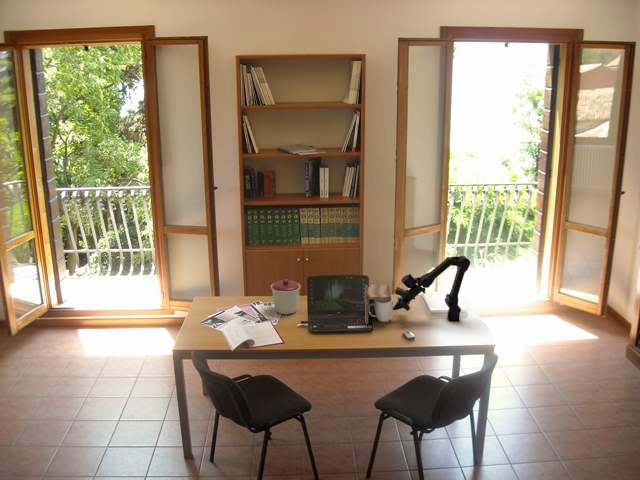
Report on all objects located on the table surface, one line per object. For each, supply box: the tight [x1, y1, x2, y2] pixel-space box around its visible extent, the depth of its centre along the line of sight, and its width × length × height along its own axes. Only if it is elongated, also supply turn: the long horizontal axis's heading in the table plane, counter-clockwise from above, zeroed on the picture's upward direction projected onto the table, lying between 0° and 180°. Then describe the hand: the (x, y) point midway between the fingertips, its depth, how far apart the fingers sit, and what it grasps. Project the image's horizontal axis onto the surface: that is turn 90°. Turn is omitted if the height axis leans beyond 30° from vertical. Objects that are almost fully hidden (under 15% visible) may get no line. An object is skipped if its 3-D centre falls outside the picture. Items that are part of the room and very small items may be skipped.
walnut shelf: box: [364, 283, 392, 325], centre depth 359 cm, size 14×20×18 cm
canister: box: [270, 278, 301, 315], centre depth 370 cm, size 18×18×21 cm
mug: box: [368, 297, 394, 323], centre depth 360 cm, size 15×11×13 cm
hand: (393, 309), depth 359 cm, fingers closed, pressing on mug
